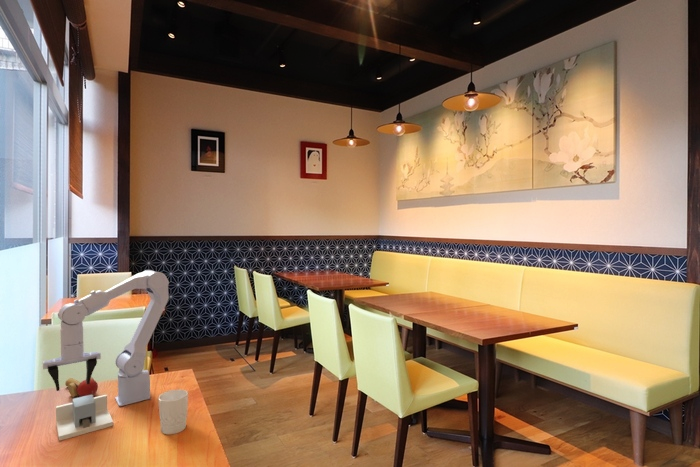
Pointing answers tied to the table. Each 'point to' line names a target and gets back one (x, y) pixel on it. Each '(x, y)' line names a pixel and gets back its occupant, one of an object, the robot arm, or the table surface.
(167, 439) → the table surface
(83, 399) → the block
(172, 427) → the white cup
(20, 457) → the table surface
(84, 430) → the board
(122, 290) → the robot arm
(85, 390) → the kendama
